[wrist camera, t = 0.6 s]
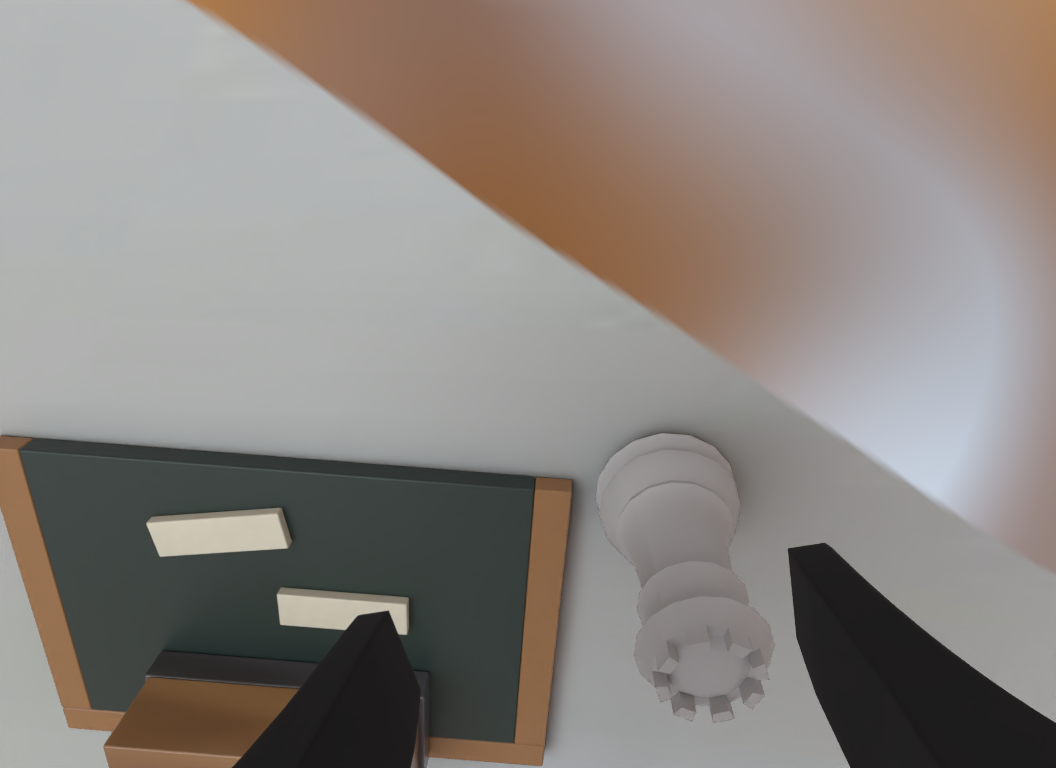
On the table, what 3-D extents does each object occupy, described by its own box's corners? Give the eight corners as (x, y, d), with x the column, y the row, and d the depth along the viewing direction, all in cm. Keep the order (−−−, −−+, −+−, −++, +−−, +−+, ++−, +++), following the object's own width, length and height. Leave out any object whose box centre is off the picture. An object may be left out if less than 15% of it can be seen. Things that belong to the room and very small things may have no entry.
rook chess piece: (566, 494, 23) (570, 692, 16) (657, 399, 21) (706, 571, 14) (668, 562, 24) (715, 778, 17) (761, 475, 22) (857, 673, 15)
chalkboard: (542, 749, 28) (542, 767, 28) (80, 711, 29) (68, 728, 28) (571, 478, 23) (572, 492, 22) (-2, 434, 23) (-20, 447, 22)
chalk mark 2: (409, 596, 24) (406, 604, 24) (409, 627, 25) (407, 635, 24) (280, 586, 24) (276, 594, 24) (283, 617, 25) (279, 625, 24)
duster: (429, 753, 28) (410, 858, 24) (178, 733, 28) (121, 835, 24) (429, 671, 26) (408, 771, 22) (160, 649, 26) (95, 745, 22)
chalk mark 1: (281, 506, 23) (277, 514, 22) (292, 541, 23) (288, 549, 23) (151, 515, 23) (145, 523, 23) (165, 549, 24) (159, 557, 23)
